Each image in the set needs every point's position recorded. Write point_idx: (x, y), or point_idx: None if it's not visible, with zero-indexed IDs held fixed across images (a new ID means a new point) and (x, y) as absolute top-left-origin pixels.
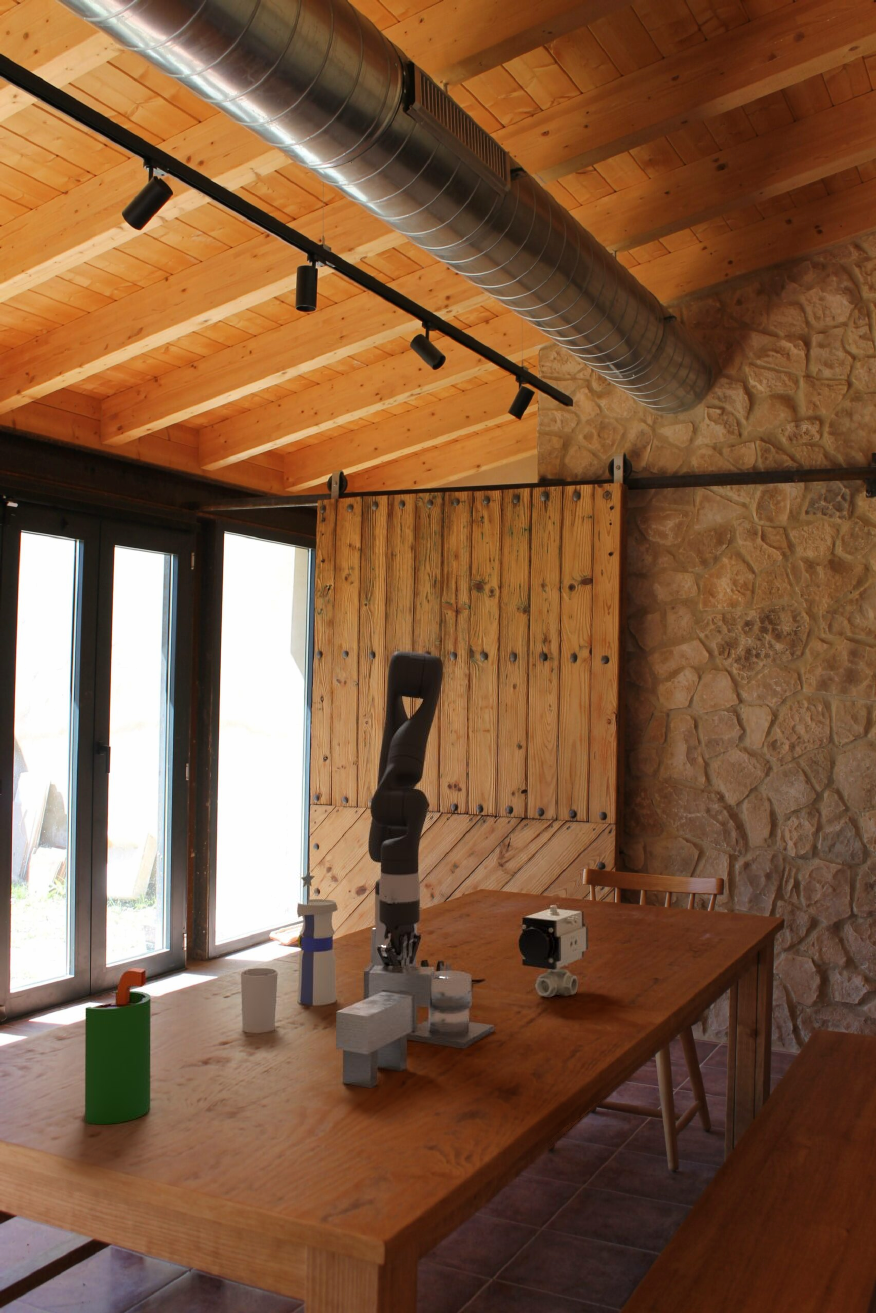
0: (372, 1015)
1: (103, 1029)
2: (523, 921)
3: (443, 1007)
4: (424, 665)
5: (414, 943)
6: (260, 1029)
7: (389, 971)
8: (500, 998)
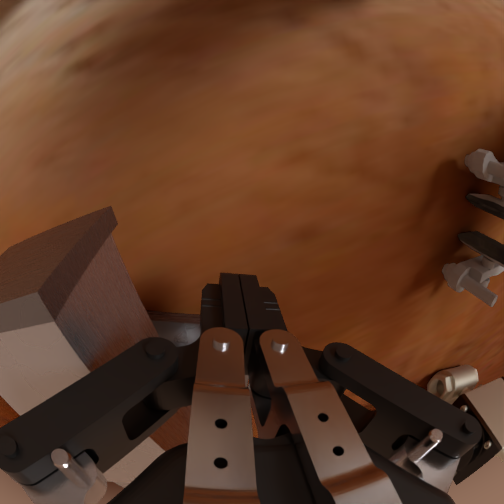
0: None
1: None
2: (494, 447)
3: None
4: None
5: (387, 455)
6: None
7: (27, 406)
8: (436, 336)
